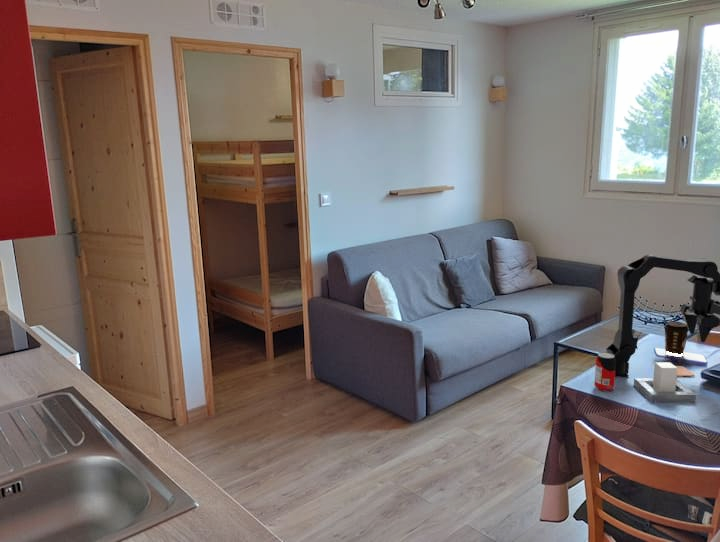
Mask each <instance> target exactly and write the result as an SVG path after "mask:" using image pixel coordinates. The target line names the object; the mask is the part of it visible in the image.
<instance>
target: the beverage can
mask: <svg viewBox="0 0 720 542" xmlns="http://www.w3.org/2000/svg"><path fill="white" fill-rule="evenodd" d="M614 357H615V356H614V355H613V354H610V353H607V352H599V353H598V354H597V357H596V358H595V370H594V372H595V373H594V383H593V384H594V386H595V387H596V389H597V388H598V390H599V389H600V390H599V391H602V390H604V391H603V392H610V391H612V390H613V389H615V383H616V382H615V380H616V377H615V371H616V360H615V358H614ZM609 390H610V391H609Z"/></svg>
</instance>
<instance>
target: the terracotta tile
mask: <svg viewBox="0 0 720 542" xmlns="http://www.w3.org/2000/svg"><path fill="white" fill-rule="evenodd" d="M675 366H676V367H677V377H678V378H681V377H683V376H694V377H693V378H695V377H696V375H695V374H694V373H692V372H691V371H690V370H689V369H687V367H686V368H685V367H684V366H683V365H675ZM683 378H684V377H683Z"/></svg>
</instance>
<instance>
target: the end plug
mask: <svg viewBox="0 0 720 542" xmlns="http://www.w3.org/2000/svg"><path fill="white" fill-rule="evenodd" d="M676 366H677V365H674V364H673V363H672V362H665V361H664V362H660V361H659V362H654V367H653V368H654V370H653V377H652V378H653V389H654V390H655V391H656V392H675V389H676V379H677V367H676Z"/></svg>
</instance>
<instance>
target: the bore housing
mask: <svg viewBox="0 0 720 542" xmlns="http://www.w3.org/2000/svg"><path fill="white" fill-rule="evenodd" d="M653 378H654V377H647V378H646V377H645V378H644V377H642V378H641V377H635V378H633V386H634V387H635V388H636V389H637V388H638V389H639V390H638V389H637V390H638V391H639V392H640V393H642V394H643V395H644V396H645V395H646V396H647V397H648V398H649V399H650V400H651V401H654V402H653V403H696V400H697V394H696V393H695V392H693V391H692V390H691V389H689V388H688V387H687V386H686V385H684V384H683V383H682V382H681V381H680V380H678V379H677V378H676V389H675V392H656V391H655V390H654V389H653ZM646 396H645V397H646ZM647 397H646V398H647ZM648 398H647V399H648ZM649 399H648V400H649ZM650 400H649V401H650ZM651 401H650V402H651ZM655 401H656V402H655Z"/></svg>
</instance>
